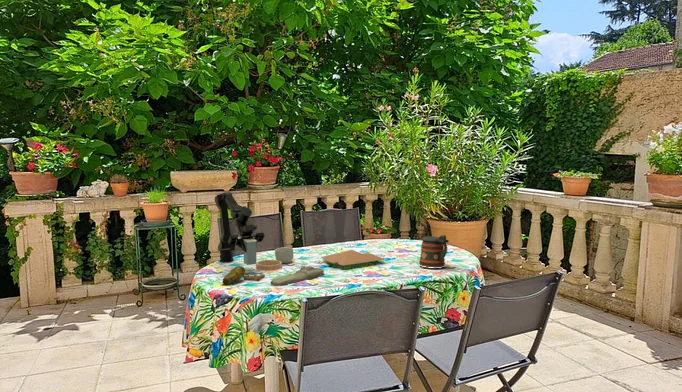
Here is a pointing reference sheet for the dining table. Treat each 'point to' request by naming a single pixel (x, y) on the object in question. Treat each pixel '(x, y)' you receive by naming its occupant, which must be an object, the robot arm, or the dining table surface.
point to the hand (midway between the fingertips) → (251, 251)
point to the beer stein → (433, 251)
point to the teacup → (284, 254)
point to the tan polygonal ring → (271, 264)
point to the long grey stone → (298, 276)
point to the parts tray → (254, 278)
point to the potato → (234, 275)
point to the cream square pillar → (250, 251)
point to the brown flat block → (351, 258)
